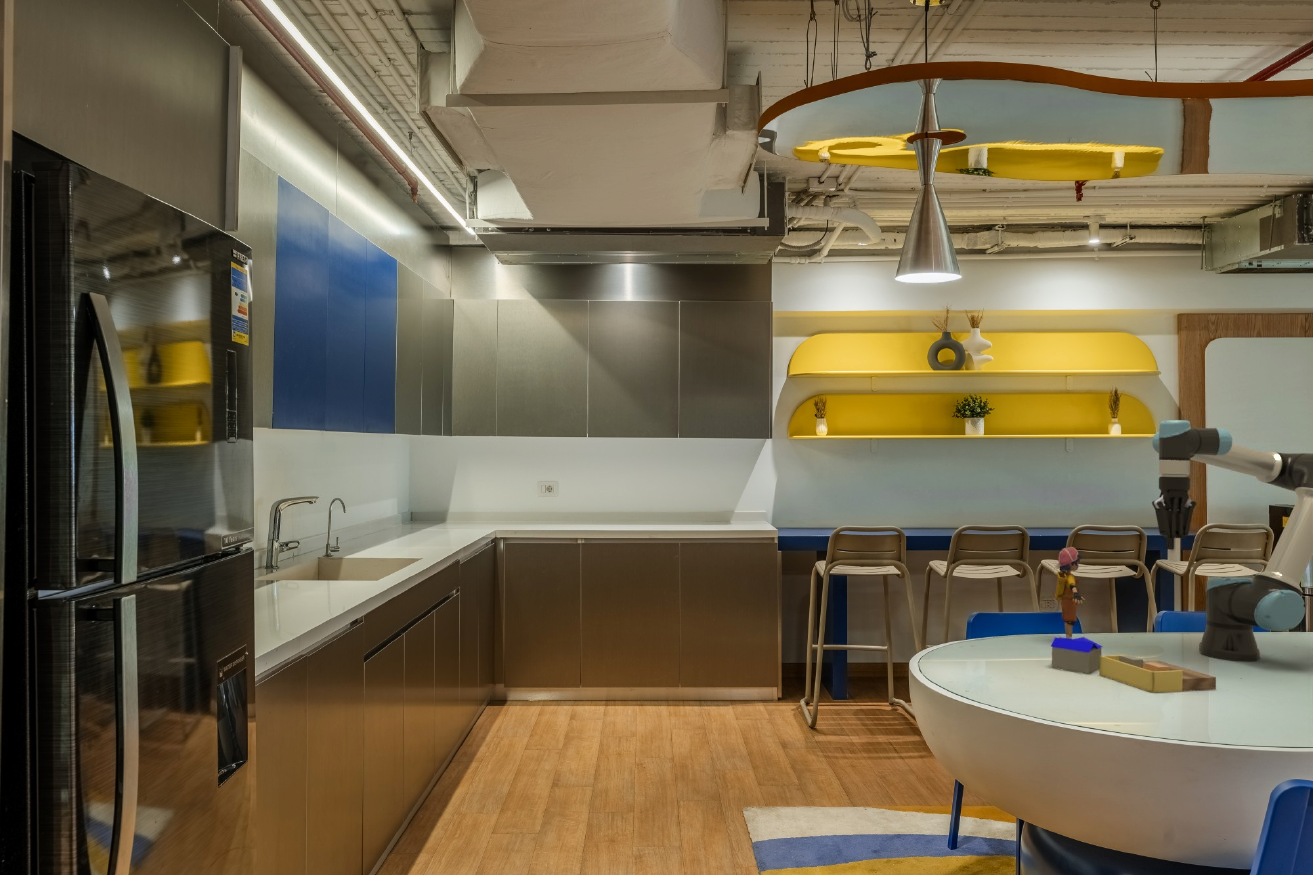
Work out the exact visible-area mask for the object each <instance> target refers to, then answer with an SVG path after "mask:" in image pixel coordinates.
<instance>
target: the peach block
mask: <svg viewBox="0 0 1313 875" xmlns="http://www.w3.org/2000/svg"><path fill="white" fill-rule="evenodd" d="M1144 662H1145V663H1143V669H1146V670H1149V671H1152V672H1155V671H1169V667H1168V666H1164V665H1161V664H1158V663H1154V662H1146V661H1144Z"/></svg>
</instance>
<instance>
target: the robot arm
mask: <svg viewBox="0 0 1313 875" xmlns="http://www.w3.org/2000/svg"><path fill="white" fill-rule="evenodd" d="M1151 444H1152V448H1153V449H1154V451H1155V452H1156V453H1157V454H1158V474H1159V475H1161V476H1159V477H1158V489H1159V490H1160V494H1159V496H1158V497H1159V498H1158V499H1157V500H1153V501H1152V502H1151V504H1152V507H1153V508H1154V510H1155V517H1156V521H1157V528H1158V532H1159V535H1160V536H1162V537H1163V538H1165V539H1166V540H1165V545H1166V546H1165V547H1166V549H1167V562H1172V563H1181V550H1182V546H1183V545H1182V544H1183V543H1182V539H1185V538H1186V537H1187V536H1188V535H1189V532H1190V528H1191V522H1192V518H1193V513H1194V510H1195V509H1194V508H1196V506H1197V501H1194V500H1193V501H1192V500H1191V499H1190V496H1189V493H1188V491H1190V489H1191V478H1190V477H1189V476H1190V475H1191V461H1196V462H1198V463H1203V464H1207V465H1211V466H1214V467H1218V468H1221V469H1225V470H1230V471H1231V472H1232V471H1233V472H1236V473H1241V474H1245V475H1249V476H1251V477H1255V478H1256V479H1257V480H1258V481H1259V482H1261V483H1265V484H1268V485H1271V486H1275V487H1277V488H1281V489H1286V490H1288V491H1292V492H1295V494H1296V495H1297V499H1296V502H1295V504H1294V507H1293V509H1292V511H1291V513H1290V516H1289V517H1288V519H1287V522H1286V523H1285V525H1284V528H1283V530H1282V533H1281V534H1280V536H1279V539H1278V541H1277V543H1276V546H1275V547H1274V550H1273V552H1272V554H1271V556H1270V557H1269V558H1270V559H1269V561H1268V563H1267V565H1266V567H1265V569H1264V571H1262V572H1259V573H1256V574H1255V576H1254V578H1251V577H1211V578H1209V579H1208V580H1207V581H1206V589H1205V597H1206V598H1205V604H1206V606H1205V611H1206V613H1205V616H1206V618H1205V620H1206V621H1205V622H1206V623H1205V625H1206V626H1205V629H1204V633H1203V635H1202V638H1201V641H1200V642H1199V644H1198V645H1199V646H1198V649H1199V650H1198V651H1199V652H1198V653H1199V654H1202V655H1204V656H1206V657H1207V656H1208V657H1211V658H1216V659H1221V660H1222V659H1223V660H1230V661H1239V662H1252V661H1253V662H1254V661H1259V660H1260V659H1261V651H1260V649H1259V648H1258V644H1257V641H1256V637H1255V634H1254V627H1257V628H1261V629H1263V630H1266V631H1273V632H1274V631H1276V632H1288V631H1290V630H1293V629H1295V628H1296V627H1297V626H1299V624H1300V623H1301V622H1302V620H1303V619H1304V616H1305V614H1306V607H1305V606H1304V605H1305V600H1304V599H1303V598H1302V595H1303V590H1302V588H1301V587H1300V586H1301V584H1300V583H1301V581H1302V579H1303V578H1304V575H1305V573H1306V571H1307V568H1308V566H1309V565H1310V562H1311V559H1312V558H1313V453H1307V452H1302V453H1301V452H1300V453H1299V452H1298V453H1297V452H1296V453H1293V452H1292V453H1286V452H1285V453H1284V452H1277V451H1273V450H1268V451H1260V450H1258V449H1257V450H1256V449H1253V448H1250V447H1246V446H1243V445H1242V446H1241V445H1238V444H1233V436H1232V435H1231V432H1230V431H1228V430H1227V429H1225V428H1218V427H1209V428H1208V427H1207V428H1206V427H1195V428H1194V427H1192V426H1191V422H1190V421H1189V420H1185V419H1183V420H1182V419H1181V420H1180V419H1178V420H1177V419H1174V420H1173V419H1172V420H1171V419H1169V420H1167V419H1166V420H1162V421H1161V422H1160V423H1159V429H1158V431H1157V432H1156V433H1155V434H1154V435H1153V437H1152V442H1151Z"/></svg>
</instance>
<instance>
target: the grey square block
mask: <svg viewBox="0 0 1313 875" xmlns="http://www.w3.org/2000/svg"><path fill="white" fill-rule="evenodd" d="M1120 655H1121V656H1119V661H1120V662H1123V663H1126V664H1130V665H1133V666H1136V667H1139V668H1143V662H1144V659H1143V658H1141V657H1138V656H1137V657H1136V656H1133V655H1130V654H1120Z"/></svg>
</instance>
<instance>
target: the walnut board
mask: <svg viewBox="0 0 1313 875" xmlns="http://www.w3.org/2000/svg"><path fill="white" fill-rule="evenodd" d="M1145 662H1154V663H1158V664H1161V665H1164V666H1168V667H1169V671H1176V670H1181V671H1183V686H1182V691H1181V692H1190V690H1192V691H1193V690H1195V691H1210V690H1211V691H1213V689H1214V690H1216V689H1217V678H1216V677H1215V676H1212V675H1209V674H1205V673H1202V672H1199V671H1195V670H1191V669H1188V668H1185V667H1181V666H1178V665H1175V664H1171V663H1168V662H1166V661H1165V662H1164V661H1161V660H1149V661H1148V660H1147V661H1143V663H1145ZM1192 691H1191V692H1192Z"/></svg>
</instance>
